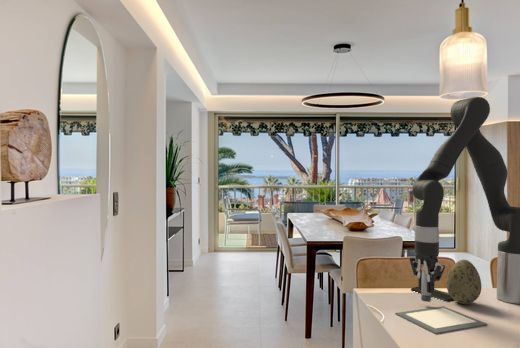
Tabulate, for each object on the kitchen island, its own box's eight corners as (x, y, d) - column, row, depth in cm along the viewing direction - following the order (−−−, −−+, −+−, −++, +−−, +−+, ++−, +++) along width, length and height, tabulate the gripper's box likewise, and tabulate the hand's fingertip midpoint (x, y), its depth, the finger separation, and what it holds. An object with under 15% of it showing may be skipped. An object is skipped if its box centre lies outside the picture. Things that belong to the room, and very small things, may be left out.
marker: (426, 298, 134) (426, 263, 134) (433, 301, 131) (433, 265, 131) (418, 299, 133) (419, 263, 133) (425, 302, 130) (426, 265, 130)
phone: (422, 285, 154) (459, 296, 141) (422, 288, 154) (459, 299, 141) (409, 288, 150) (446, 299, 137) (409, 291, 150) (445, 303, 137)
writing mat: (443, 307, 131) (443, 305, 131) (487, 325, 117) (487, 323, 117) (395, 314, 124) (395, 312, 124) (435, 334, 109) (435, 332, 109)
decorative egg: (488, 307, 132) (489, 262, 132) (460, 309, 130) (461, 263, 130) (465, 297, 142) (466, 256, 142) (439, 299, 140) (440, 256, 140)
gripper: (452, 242, 127) (451, 296, 127) (419, 235, 140) (419, 284, 140) (434, 243, 124) (433, 298, 124) (403, 236, 137) (402, 286, 137)
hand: (426, 290), depth 132 cm, fingers closed on marker, 3 cm apart
